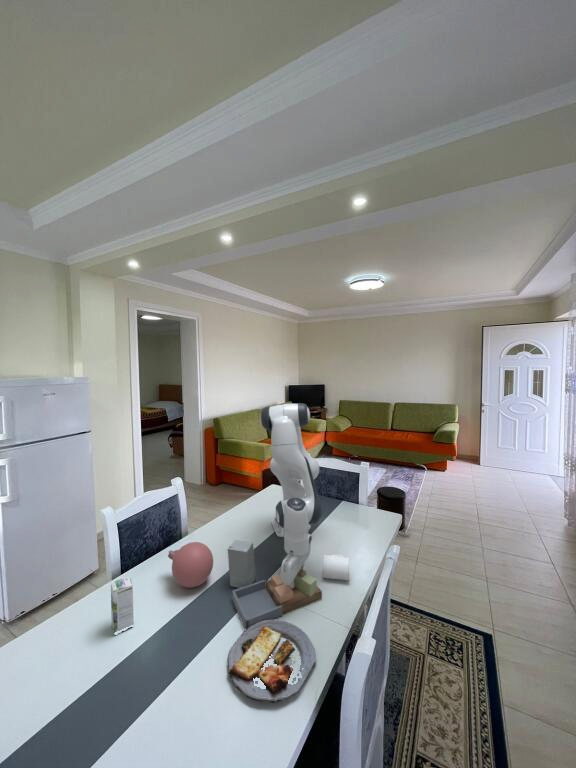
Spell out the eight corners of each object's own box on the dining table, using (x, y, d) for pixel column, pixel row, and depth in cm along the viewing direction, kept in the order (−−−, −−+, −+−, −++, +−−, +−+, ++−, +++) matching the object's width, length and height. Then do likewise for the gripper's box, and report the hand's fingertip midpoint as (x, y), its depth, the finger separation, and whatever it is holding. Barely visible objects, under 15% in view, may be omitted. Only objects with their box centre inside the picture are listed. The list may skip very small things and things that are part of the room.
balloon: (185, 562, 136) (184, 528, 135) (221, 577, 126) (221, 540, 125) (155, 584, 122) (153, 546, 121) (193, 603, 113) (192, 561, 112)
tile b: (274, 594, 113) (274, 587, 113) (286, 589, 115) (286, 582, 115) (280, 603, 109) (280, 596, 109) (293, 598, 111) (293, 591, 111)
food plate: (281, 727, 74) (281, 713, 74) (210, 677, 87) (210, 664, 86) (326, 649, 95) (326, 637, 95) (264, 617, 108) (264, 607, 108)
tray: (232, 600, 114) (231, 590, 114) (264, 588, 120) (264, 579, 120) (246, 631, 101) (246, 620, 101) (282, 616, 107) (282, 606, 107)
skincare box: (255, 580, 125) (255, 541, 124) (247, 592, 118) (247, 551, 117) (236, 575, 128) (236, 537, 127) (227, 587, 121) (227, 547, 120)
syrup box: (111, 624, 104) (109, 582, 103) (130, 616, 107) (129, 575, 106) (114, 636, 99) (112, 592, 98) (134, 627, 103) (133, 584, 102)
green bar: (282, 578, 121) (282, 564, 121) (288, 573, 124) (288, 559, 124) (310, 596, 112) (310, 581, 111) (316, 591, 114) (316, 576, 114)
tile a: (271, 583, 119) (271, 576, 118) (282, 578, 121) (282, 572, 121) (277, 591, 114) (277, 585, 114) (289, 586, 117) (289, 580, 117)
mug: (348, 585, 122) (349, 565, 121) (322, 582, 124) (322, 562, 123) (349, 566, 134) (349, 547, 133) (325, 563, 136) (325, 545, 135)
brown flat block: (265, 589, 120) (265, 581, 120) (302, 576, 127) (302, 568, 127) (282, 615, 107) (282, 606, 107) (321, 599, 115) (321, 591, 115)
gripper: (292, 562, 106) (292, 602, 107) (313, 532, 124) (313, 566, 125) (275, 558, 108) (276, 596, 109) (298, 529, 127) (298, 562, 128)
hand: (296, 580), depth 117 cm, fingers open, 6 cm apart
